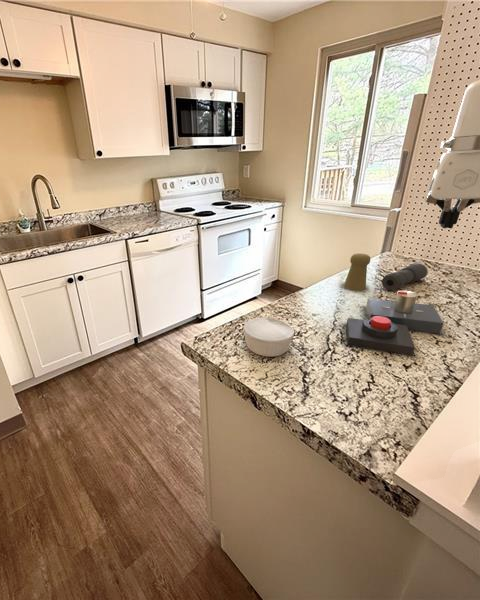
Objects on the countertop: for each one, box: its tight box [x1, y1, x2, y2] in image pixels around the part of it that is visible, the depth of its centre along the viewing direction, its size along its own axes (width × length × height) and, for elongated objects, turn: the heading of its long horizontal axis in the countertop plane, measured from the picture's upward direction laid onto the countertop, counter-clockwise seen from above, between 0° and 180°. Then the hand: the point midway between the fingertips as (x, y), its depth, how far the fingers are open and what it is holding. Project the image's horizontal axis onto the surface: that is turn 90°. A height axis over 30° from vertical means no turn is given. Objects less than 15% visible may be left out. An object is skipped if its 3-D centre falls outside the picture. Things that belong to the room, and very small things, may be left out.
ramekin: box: [242, 316, 295, 358], centre depth 75 cm, size 11×11×5 cm
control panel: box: [365, 298, 444, 335], centre depth 80 cm, size 14×10×3 cm
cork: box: [343, 253, 371, 292], centre depth 98 cm, size 6×6×11 cm
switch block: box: [345, 317, 416, 356], centre depth 73 cm, size 12×10×4 cm
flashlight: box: [381, 262, 429, 291], centre depth 98 cm, size 15×5×5 cm, turn 116°
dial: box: [393, 290, 418, 313], centre depth 78 cm, size 4×4×5 cm
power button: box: [370, 316, 391, 329], centre depth 72 cm, size 4×4×2 cm
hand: (446, 227), depth 76 cm, fingers closed
